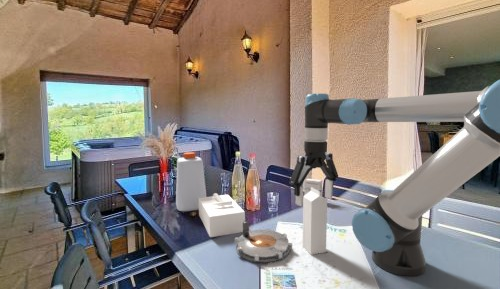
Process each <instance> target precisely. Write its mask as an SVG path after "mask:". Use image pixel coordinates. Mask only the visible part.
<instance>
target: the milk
mask: <svg viewBox="0 0 500 289" xmlns="http://www.w3.org/2000/svg"><path fill="white" fill-rule="evenodd" d="M327 217H328V198H326V197H324V196H322V197H321V196H320V191H318V190H316V189H314V188H313V187H311V191H310V192H309V193H307V194H306V195H305V194H304V195H303V206H302V247H304V248H305V249H306V250H307V251H308V252H307V251H306V250H305V249H304V248H303V249H304V250H305V251H306V252H307V253H308V254H309V255H310V256H313V255H318V253H319V254H323V253H322V252H325V253H326V252H327V227H328V226H327V224H328V223H327V222H328V218H327Z"/></svg>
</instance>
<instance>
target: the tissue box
mask: <svg viewBox="0 0 500 289" xmlns="http://www.w3.org/2000/svg"><path fill="white" fill-rule="evenodd" d="M198 216H199V218H200V219H201V222H202V223H203V225H204V227H205V230H206V232H207V234H208V237H210V238H215V237H220V236H227V235H232V234H238V233H243V222H244V221H246V213H245V210H244V209H243V208H242V207H241V206H240V205H239V204H238V203H237V202H236V201H235V200H234V199H233V198H232V197H231V196H230V195H229V194H218V193H217V192H214V193H212V195H211V196H206V197H203V198H199V210H198Z"/></svg>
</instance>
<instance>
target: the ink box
mask: <svg viewBox="0 0 500 289" xmlns="http://www.w3.org/2000/svg"><path fill="white" fill-rule="evenodd" d="M311 187H313V188H314V189H316V190H318V191H320V196H321V197H323V180H322V179H315V178H314V179H313V178H305V180H304V195H306V194H307V193H309V192H310V191H311Z"/></svg>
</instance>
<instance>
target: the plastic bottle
mask: <svg viewBox="0 0 500 289" xmlns="http://www.w3.org/2000/svg"><path fill="white" fill-rule="evenodd" d="M205 180H206V179H205V168H204V162H203V159H202V158H201V157H199V156H196V152H192V151H191V152H190V151H189V152H188V151H187V152H183V157H179V158H177V160H176V187H175V188H176V189H175V190H176V191H175V193H176V194H175V206H176V209H177V210H178V211H179V212H191V211H192V212H193V211H199V198H203V197H207V190H206V189H207V188H206V181H205Z"/></svg>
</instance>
